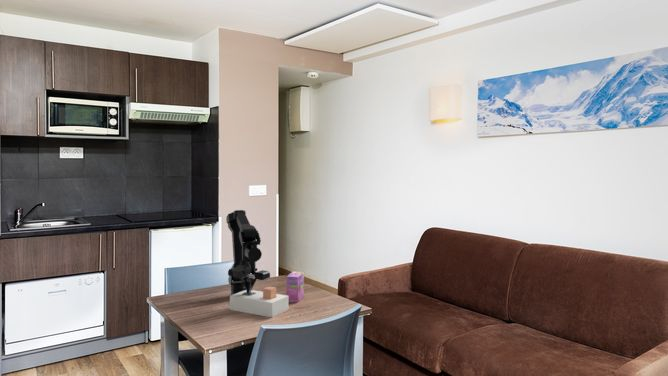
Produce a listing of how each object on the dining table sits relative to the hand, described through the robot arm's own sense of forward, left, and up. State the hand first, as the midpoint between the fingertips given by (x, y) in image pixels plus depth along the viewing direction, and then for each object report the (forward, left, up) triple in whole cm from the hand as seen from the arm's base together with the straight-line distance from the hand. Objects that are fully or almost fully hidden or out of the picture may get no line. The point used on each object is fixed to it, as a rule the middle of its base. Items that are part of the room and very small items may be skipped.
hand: (248, 293), depth 197 cm
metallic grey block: (0, 0, -6) cm, 6 cm away
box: (+11, +21, -7) cm, 24 cm away
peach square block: (+11, 0, -2) cm, 11 cm away
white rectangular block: (+6, 0, -6) cm, 8 cm away
